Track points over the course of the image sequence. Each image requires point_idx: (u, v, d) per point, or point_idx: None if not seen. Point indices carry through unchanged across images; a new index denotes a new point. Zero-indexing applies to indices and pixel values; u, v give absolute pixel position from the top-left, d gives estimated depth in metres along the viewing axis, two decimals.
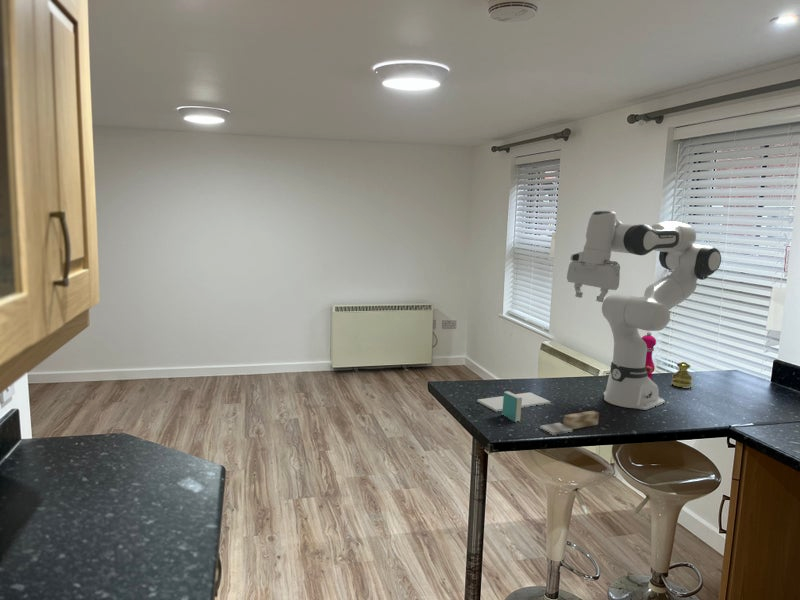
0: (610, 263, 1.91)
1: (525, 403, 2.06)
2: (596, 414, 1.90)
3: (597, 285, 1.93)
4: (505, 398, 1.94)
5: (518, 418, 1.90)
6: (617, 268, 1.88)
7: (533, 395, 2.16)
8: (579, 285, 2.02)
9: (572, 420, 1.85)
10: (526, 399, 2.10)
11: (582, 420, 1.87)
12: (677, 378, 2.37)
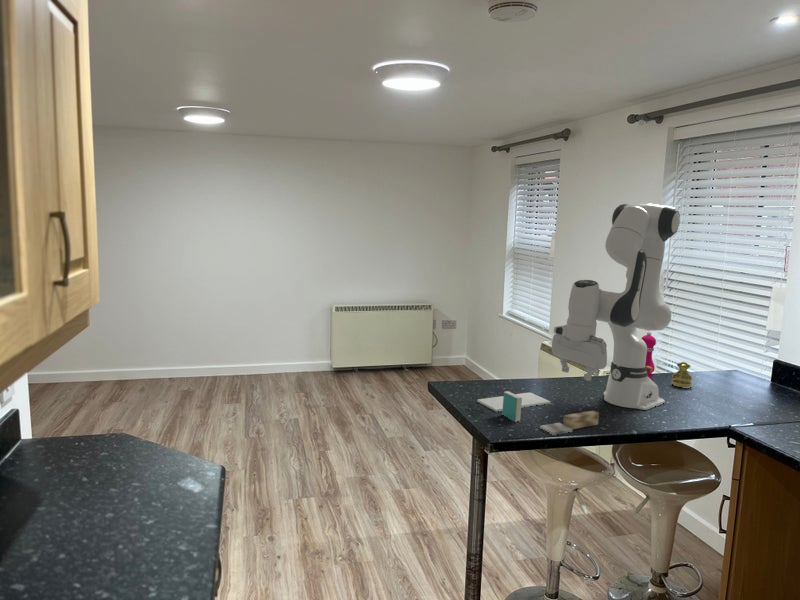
0: (596, 340, 1.76)
1: (525, 403, 2.06)
2: (596, 414, 1.90)
3: (583, 363, 1.79)
4: (505, 398, 1.94)
5: (518, 418, 1.90)
6: (603, 346, 1.74)
7: (533, 395, 2.16)
8: (565, 359, 1.88)
9: (572, 420, 1.85)
10: (526, 399, 2.10)
11: (582, 420, 1.87)
12: (677, 378, 2.37)
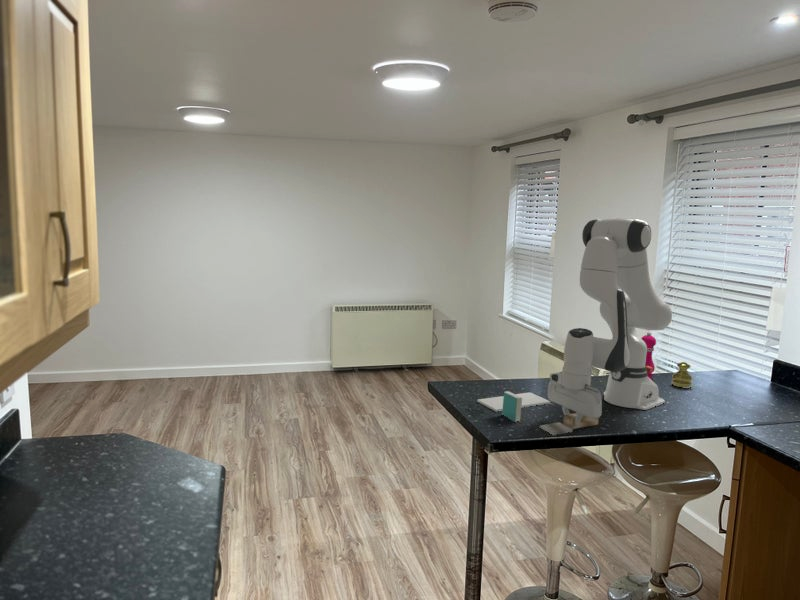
0: (591, 389, 1.79)
1: (525, 403, 2.06)
2: None
3: (579, 411, 1.81)
4: (505, 398, 1.94)
5: (518, 418, 1.90)
6: (598, 396, 1.76)
7: (533, 395, 2.16)
8: (567, 408, 1.88)
9: (572, 420, 1.85)
10: (526, 399, 2.10)
11: (582, 420, 1.87)
12: (677, 378, 2.37)
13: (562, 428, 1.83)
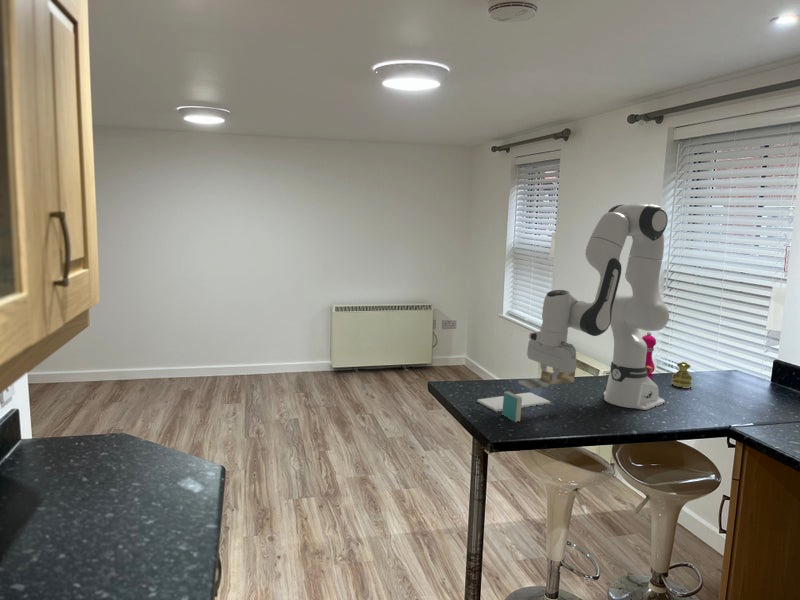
0: (566, 345, 1.90)
1: (525, 403, 2.06)
2: (573, 372, 2.01)
3: (555, 367, 1.93)
4: (505, 398, 1.94)
5: (518, 418, 1.90)
6: (573, 352, 1.88)
7: (533, 395, 2.16)
8: (545, 365, 2.00)
9: (549, 376, 1.97)
10: (526, 399, 2.10)
11: (559, 376, 1.99)
12: (677, 378, 2.37)
13: (539, 383, 1.94)
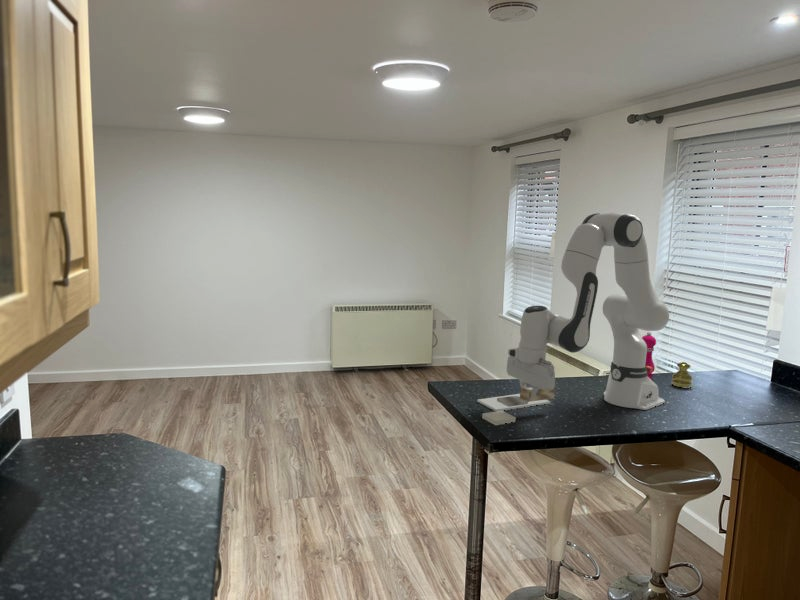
0: (544, 363, 1.87)
1: None
2: None
3: (534, 384, 1.90)
4: None
5: (512, 420, 1.89)
6: (551, 369, 1.84)
7: None
8: (524, 382, 1.96)
9: (528, 393, 1.93)
10: None
11: (538, 393, 1.95)
12: (677, 378, 2.37)
13: (518, 400, 1.91)
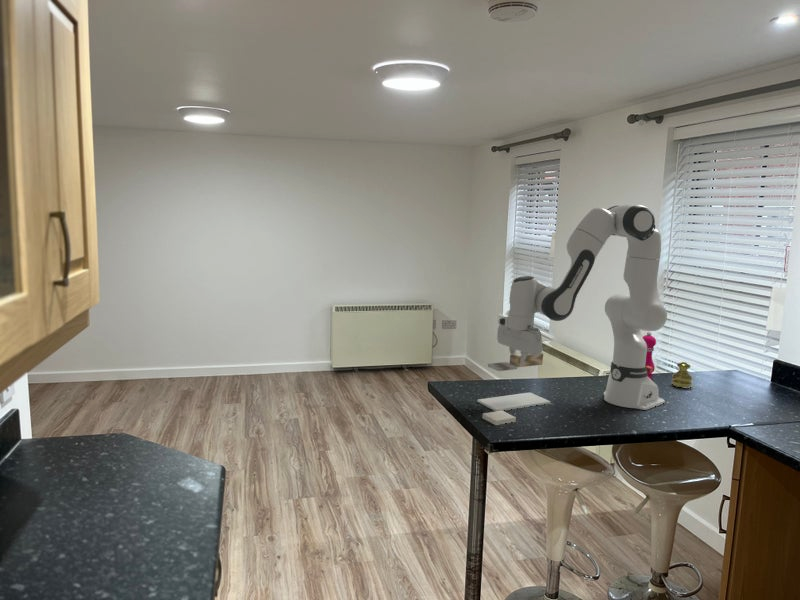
0: (532, 329, 1.98)
1: (525, 403, 2.06)
2: (541, 355, 2.09)
3: (522, 350, 2.01)
4: None
5: (513, 420, 1.89)
6: (538, 335, 1.95)
7: (533, 395, 2.16)
8: (514, 349, 2.07)
9: (517, 359, 2.04)
10: (526, 399, 2.10)
11: (527, 359, 2.06)
12: (677, 378, 2.37)
13: (507, 365, 2.02)
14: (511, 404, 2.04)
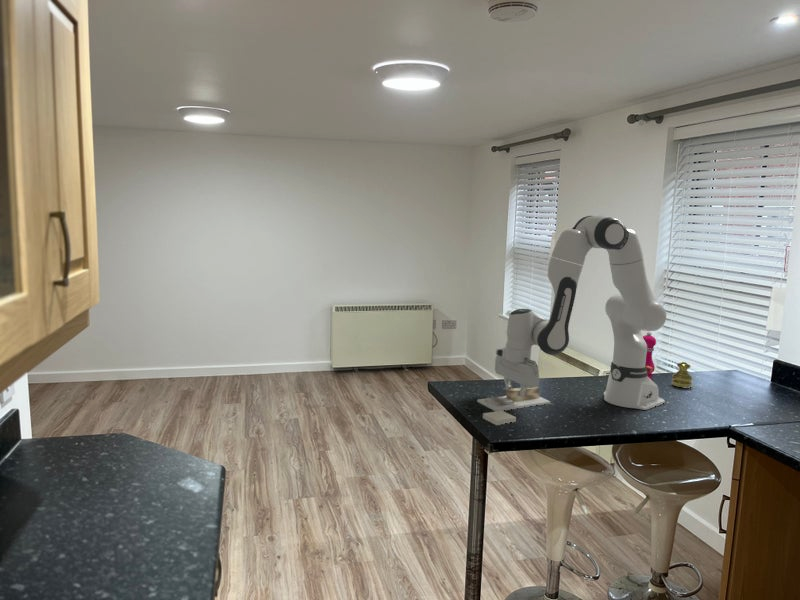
0: (529, 362, 2.00)
1: (525, 403, 2.06)
2: (537, 389, 2.11)
3: (519, 382, 2.03)
4: None
5: (513, 420, 1.89)
6: (535, 368, 1.97)
7: None
8: (508, 378, 2.11)
9: (514, 394, 2.06)
10: None
11: None
12: (677, 378, 2.37)
13: (504, 400, 2.04)
14: (511, 404, 2.04)
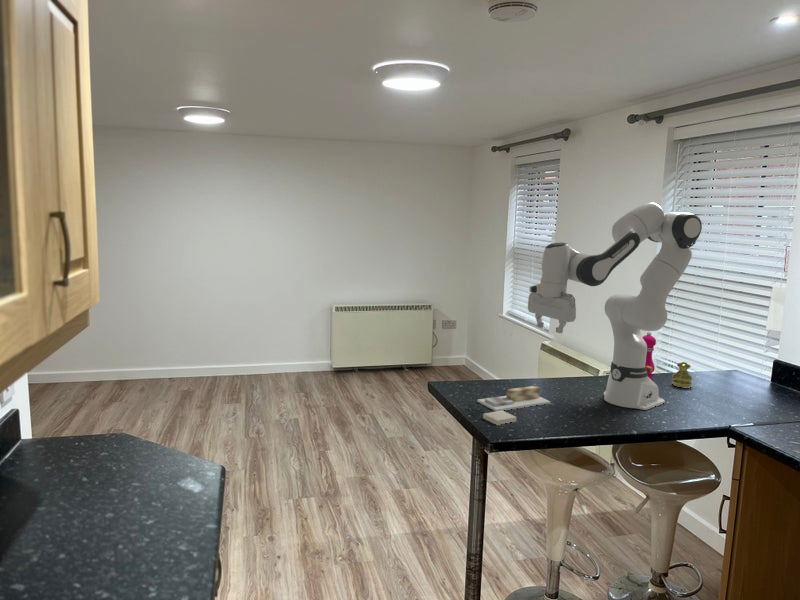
0: (566, 296, 1.95)
1: (525, 403, 2.06)
2: (537, 389, 2.11)
3: (555, 317, 1.98)
4: None
5: (513, 420, 1.89)
6: (572, 301, 1.92)
7: None
8: (540, 315, 2.07)
9: (514, 394, 2.06)
10: None
11: (524, 394, 2.08)
12: (677, 378, 2.37)
13: (504, 400, 2.04)
14: (511, 404, 2.04)
